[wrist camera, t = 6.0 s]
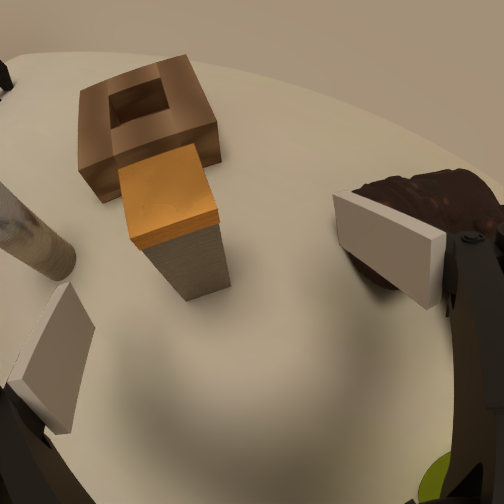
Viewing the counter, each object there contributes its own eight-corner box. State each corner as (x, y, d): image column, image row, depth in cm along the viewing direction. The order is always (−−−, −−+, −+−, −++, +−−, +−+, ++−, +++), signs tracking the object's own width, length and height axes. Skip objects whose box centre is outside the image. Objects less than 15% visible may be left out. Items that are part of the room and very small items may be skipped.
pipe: (348, 152, 17) (506, 364, 10) (466, 123, 21) (574, 250, 13) (321, 242, 25) (419, 395, 18) (430, 193, 29) (512, 302, 22)
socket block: (102, 203, 24) (78, 170, 20) (96, 123, 28) (80, 90, 23) (221, 161, 26) (217, 121, 21) (191, 90, 29) (186, 54, 25)
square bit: (185, 302, 21) (129, 238, 11) (172, 258, 22) (118, 169, 12) (231, 286, 22) (217, 208, 11) (216, 243, 23) (193, 143, 13)
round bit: (39, 266, 22) (-47, 207, 12) (60, 236, 23) (-17, 163, 13) (60, 288, 21) (-33, 232, 11) (82, 255, 22) (0, 182, 12)
